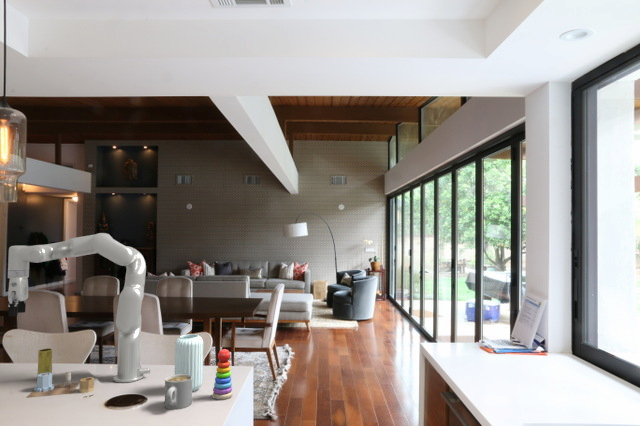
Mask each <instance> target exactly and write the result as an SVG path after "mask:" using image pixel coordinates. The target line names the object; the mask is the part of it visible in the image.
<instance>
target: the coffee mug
mask: <svg viewBox="0 0 640 426" xmlns="http://www.w3.org/2000/svg"><path fill="white" fill-rule="evenodd" d="M192 400H193V392H192V376H191V375H187V374H178V375H175V374H173V375H169V376H167V377H165V378H164V408H165V409H168V410H174V411H175V410H183V409H186V408H188V407H190V406H191V405H192V403H193V401H192Z"/></svg>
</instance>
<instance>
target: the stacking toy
mask: <svg viewBox="0 0 640 426" xmlns="http://www.w3.org/2000/svg"><path fill="white" fill-rule="evenodd" d="M230 358H231V351H229V349H226V348H224V349H221V350H219V352H218V354H217V359H218V360H219V361H218V362H217V364H216V365H217V367H216V373H215V376H216V377H215V378H214V384H213V386H214V387H213V388H212V391H213V392H212V394H211V395H212V397H213V399H215V400H227V399H230V398H231V397H232V396H233V394H234V393H233V391H232V390H233V387H232V385H233V384H232V376H231V375H232V372H231V367H230V366H231V361H230Z"/></svg>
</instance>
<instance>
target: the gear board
mask: <svg viewBox="0 0 640 426" xmlns="http://www.w3.org/2000/svg"><path fill="white" fill-rule="evenodd" d="M45 375H48V374H42V376H45ZM54 385H55V387H54V389H52V390H48V391H45V392H43V391H42V392H36V391H34V389H33V390H32V391H31V392H30V393H29V394H28V395H27V396H26V398H28V399H29V398H37V397H38V398H39V397H40V398H41V397H49V396H59V395H60V396H62V395H72V394H73V392H75V390H76V389H77V387H78V386H79V385H80V382H72V372H71V371H66V372H65V373H64V383H60V384H54Z"/></svg>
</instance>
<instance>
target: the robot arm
mask: <svg viewBox="0 0 640 426" xmlns="http://www.w3.org/2000/svg"><path fill="white" fill-rule="evenodd" d="M93 254H98V255H100V256H102V257H104V258H106V259H108V260H109V261H111V262H113V263H114V264H115V265H119V266H122V267H123V266H124V267H125V268H126V272H125V277H124V279H125V280H124V286H123V289H122V291H121V292H120V294H119V298H118V302H117V303H118V304H117V310H116V316H115V317H116V318H115V326H116V328H117V330H118V333H117V335H118V336H117V363H116V364H117V372H116V374H115V375H114V376H113V379H112V380H113V381H114V382H116V383H131V382H137V381H139V380H141V379H143V378H144V374H145V375H147V374H151V368H148V367H146V368H143V367H142V365H141V341H142V340H141V339H142V336H141V335H142V323H143V322H142V319H143V318H142V314H141V313H142V312H141V311H142V305H143V304H142V303H143V300H144V296H145V284H146V273H147V265H146V264H147V263H146V260H145V258H144V255H143V254H142V253H141V252H140V251H139V250H137V249H136V248H134V247H132V246H128V245H127V246H126V245H124V244H123V243H120V241H117V240H116V239H114V238H113V236H111V235H110V234H109V233H106V232H99V233H96V234H90V235H85V236H84V235H83V236H78V237H71V238H69V239H67V240H64V241H59V242H54V243H48V244H36V245H11V246H10V247H9V248H8V263H7V266H8V267H7V279H9V282H8V291H7V292H8V293H7V295H8V296H7V299H8V306H7V307H8V310H7V311H8V313H7V316H8V317H9V318H10V317H17V316H18V315H19V314H21V313H26V302H27V299H29V279H28V278H29V276H30V263H37V264H38V263H43V262H50V261H53V260H59V259H60V260H61V259H65V258H76V257H83V256H87V255H93Z"/></svg>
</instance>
